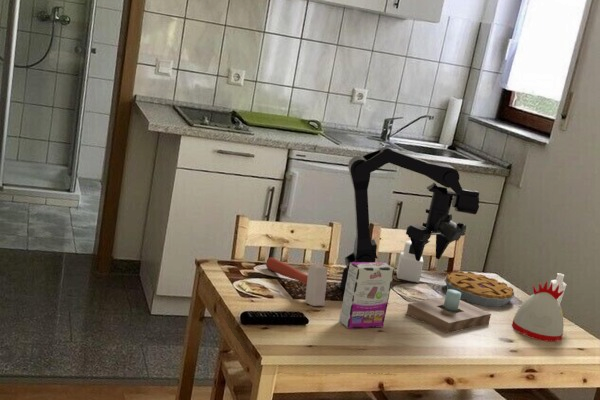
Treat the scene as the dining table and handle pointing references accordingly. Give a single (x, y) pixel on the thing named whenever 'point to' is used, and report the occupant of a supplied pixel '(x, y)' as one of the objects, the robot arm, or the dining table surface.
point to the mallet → (304, 279)
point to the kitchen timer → (541, 315)
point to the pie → (479, 288)
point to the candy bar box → (366, 294)
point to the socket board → (448, 315)
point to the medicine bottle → (409, 264)
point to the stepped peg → (452, 301)
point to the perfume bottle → (561, 285)
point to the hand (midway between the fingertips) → (427, 259)
